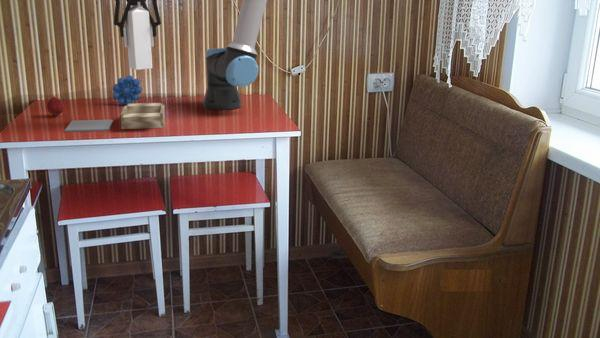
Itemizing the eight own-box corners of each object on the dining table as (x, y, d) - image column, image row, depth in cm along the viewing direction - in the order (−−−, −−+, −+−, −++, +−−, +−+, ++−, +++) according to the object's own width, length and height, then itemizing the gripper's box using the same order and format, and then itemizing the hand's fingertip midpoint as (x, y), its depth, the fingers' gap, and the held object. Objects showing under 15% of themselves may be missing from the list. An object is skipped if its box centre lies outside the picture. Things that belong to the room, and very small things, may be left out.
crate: (165, 116, 225) (164, 102, 223) (163, 130, 204) (162, 116, 203) (126, 117, 223) (125, 103, 221) (120, 131, 202) (119, 117, 200)
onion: (68, 116, 222) (65, 95, 220) (52, 119, 218) (50, 97, 216) (60, 114, 226) (58, 92, 223) (45, 116, 222) (42, 94, 219)
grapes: (144, 103, 247) (142, 73, 243) (142, 106, 241) (140, 76, 237) (115, 103, 245) (112, 73, 242) (112, 106, 239) (109, 76, 235)
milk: (136, 70, 204) (130, 2, 197) (129, 67, 208) (123, 1, 201) (153, 68, 207) (148, 1, 200) (145, 66, 212) (140, 0, 205)
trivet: (113, 121, 216) (113, 119, 216) (108, 130, 203) (108, 129, 203) (72, 122, 214) (71, 120, 214) (64, 132, 201) (64, 130, 201)
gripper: (167, -24, 204) (170, 45, 211) (102, -25, 200) (108, 45, 207) (166, -24, 197) (170, 47, 204) (99, -25, 193) (106, 48, 200)
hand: (139, 46), depth 205 cm, fingers closed on milk, 8 cm apart
